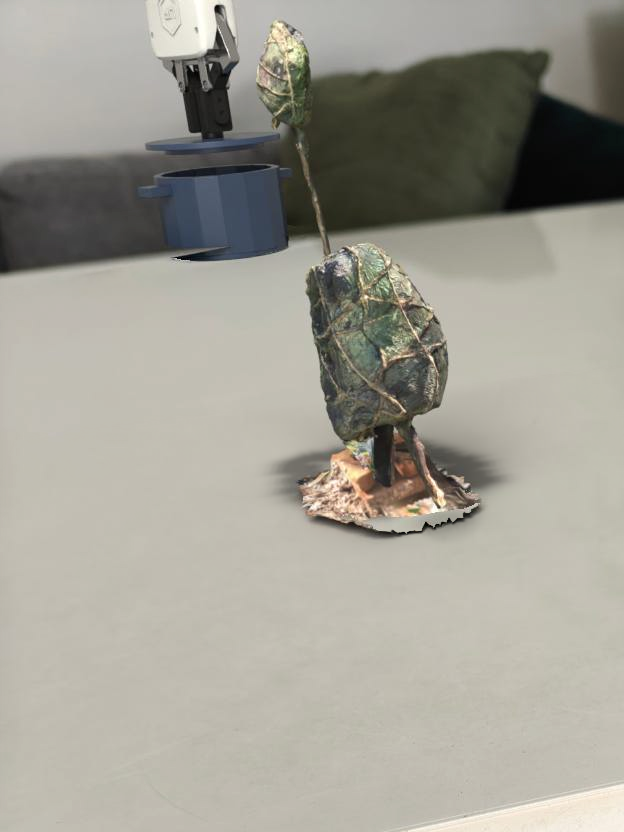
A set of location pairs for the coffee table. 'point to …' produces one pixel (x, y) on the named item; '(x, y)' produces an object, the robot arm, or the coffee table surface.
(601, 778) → the coffee table surface
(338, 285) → the plant with pod
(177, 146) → the lid
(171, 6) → the robot arm
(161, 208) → the pot
